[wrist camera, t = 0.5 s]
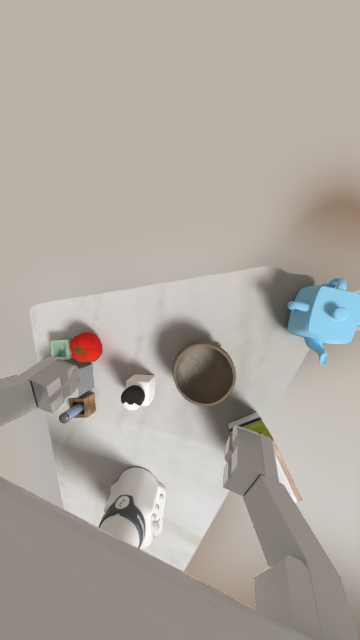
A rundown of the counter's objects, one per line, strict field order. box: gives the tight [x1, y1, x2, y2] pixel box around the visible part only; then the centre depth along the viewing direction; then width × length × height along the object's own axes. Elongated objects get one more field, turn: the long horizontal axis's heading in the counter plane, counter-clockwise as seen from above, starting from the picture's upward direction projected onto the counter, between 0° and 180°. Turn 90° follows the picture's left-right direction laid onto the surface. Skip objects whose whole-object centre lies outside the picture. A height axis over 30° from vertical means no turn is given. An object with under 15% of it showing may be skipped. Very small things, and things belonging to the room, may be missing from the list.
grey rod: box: [59, 402, 84, 423], centre depth 59 cm, size 3×3×10 cm
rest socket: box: [50, 339, 73, 360], centre depth 64 cm, size 7×7×4 cm
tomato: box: [70, 332, 102, 362], centre depth 61 cm, size 9×10×8 cm
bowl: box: [173, 340, 236, 406], centre depth 55 cm, size 17×18×10 cm
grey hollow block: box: [65, 364, 94, 398], centre depth 61 cm, size 8×10×9 cm
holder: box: [69, 393, 96, 418], centre depth 63 cm, size 6×6×4 cm
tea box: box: [228, 412, 302, 502], centre depth 51 cm, size 15×10×15 cm
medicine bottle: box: [121, 374, 155, 410], centre depth 57 cm, size 7×7×12 cm
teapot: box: [288, 278, 360, 365], centre depth 50 cm, size 18×16×14 cm
